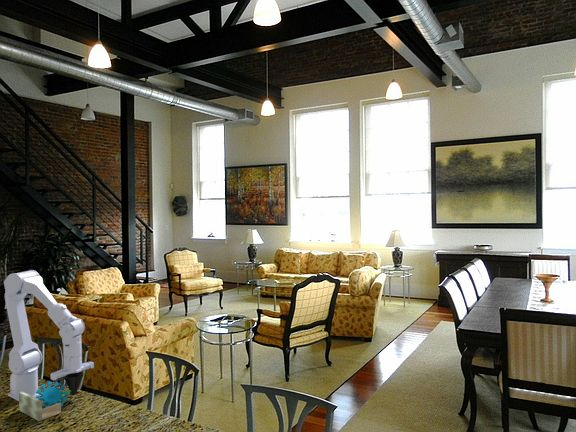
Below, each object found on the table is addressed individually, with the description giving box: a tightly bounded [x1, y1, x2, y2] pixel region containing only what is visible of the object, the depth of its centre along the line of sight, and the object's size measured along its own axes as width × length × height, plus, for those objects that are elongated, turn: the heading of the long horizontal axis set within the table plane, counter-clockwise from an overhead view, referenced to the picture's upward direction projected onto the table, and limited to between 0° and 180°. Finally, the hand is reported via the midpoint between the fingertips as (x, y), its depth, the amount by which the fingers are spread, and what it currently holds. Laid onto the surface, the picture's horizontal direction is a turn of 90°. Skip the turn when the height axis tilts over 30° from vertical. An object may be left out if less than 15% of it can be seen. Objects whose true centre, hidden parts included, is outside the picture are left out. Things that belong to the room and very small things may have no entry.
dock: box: [18, 392, 62, 422], centre depth 149 cm, size 13×7×6 cm, turn 54°
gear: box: [36, 381, 71, 409], centre depth 154 cm, size 11×6×10 cm
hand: (73, 394), depth 158 cm, fingers closed
